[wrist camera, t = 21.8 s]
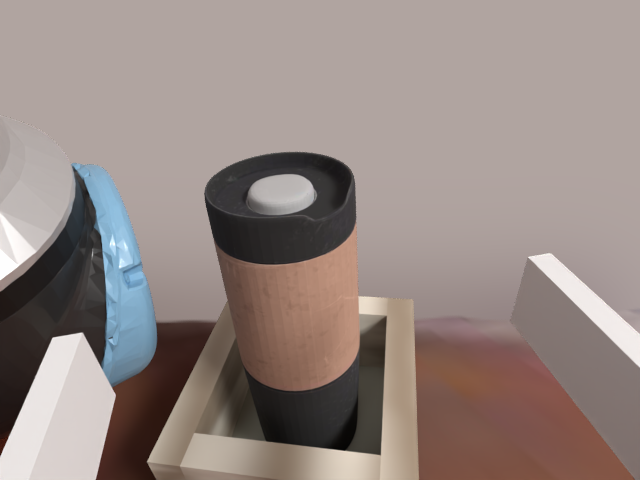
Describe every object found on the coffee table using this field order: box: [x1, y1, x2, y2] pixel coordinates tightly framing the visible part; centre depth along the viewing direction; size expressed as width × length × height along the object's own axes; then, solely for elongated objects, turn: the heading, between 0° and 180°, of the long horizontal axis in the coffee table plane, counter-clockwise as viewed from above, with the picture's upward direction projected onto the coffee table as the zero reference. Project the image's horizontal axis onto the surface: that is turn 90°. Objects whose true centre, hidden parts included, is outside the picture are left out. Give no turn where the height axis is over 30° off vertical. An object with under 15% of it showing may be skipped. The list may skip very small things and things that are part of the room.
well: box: [147, 296, 419, 480], centre depth 31 cm, size 15×15×7 cm
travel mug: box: [204, 152, 360, 451], centre depth 27 cm, size 8×8×20 cm
